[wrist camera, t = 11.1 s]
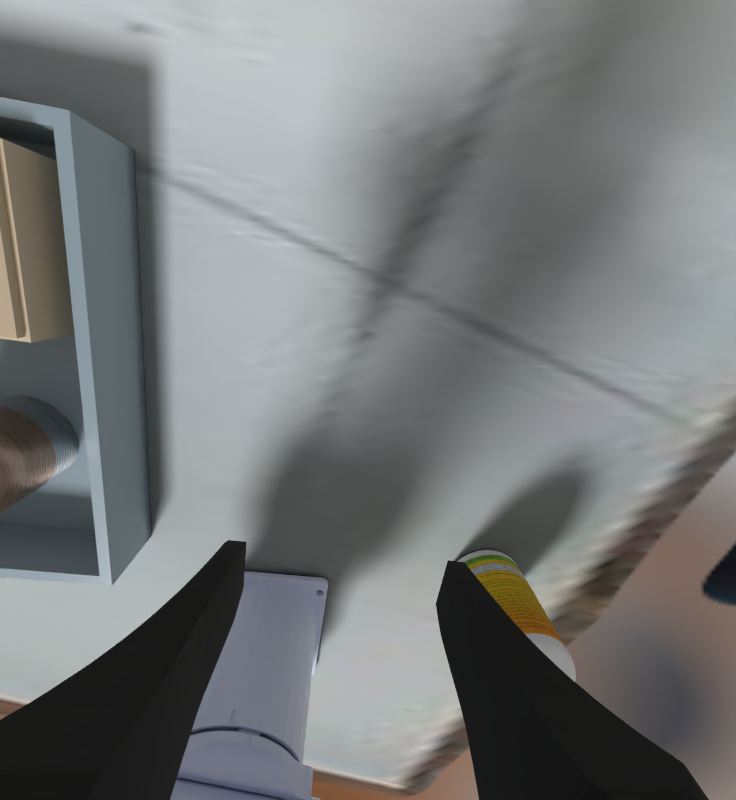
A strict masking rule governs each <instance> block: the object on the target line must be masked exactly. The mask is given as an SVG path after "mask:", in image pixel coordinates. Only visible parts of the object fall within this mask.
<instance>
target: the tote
mask: <svg viewBox="0 0 736 800" xmlns="http://www.w3.org/2000/svg"><path fill="white" fill-rule="evenodd" d="M0 138H2V139H4V140H7V141H9V142H12V143H14V144H17V145H19V146H21V147H24V148H26V149H29V150H31V151H33V152H36V153H38V154H41V155H43V156H46V157H48V158H50V159H53V160H55V161H57V167H58V177H59V186H60V196H61V206H62V216H63V225H64V235H65V245H66V254H67V264H68V274H69V284H70V293H71V303H72V313H73V322H74V332H75V335H70V336H64V337H59V338H53V339H48V340H43V341H37V342H32V343H30V342H23V341H15V340H8V339H0V399H2V398H5V397H9V396H28V397H33V398H37V399H40V400H42V401H44V402H47V403H48V404H50V405H52V406H53V407H55V408H56V409H58V410H59V411H60V412H61V413H62V414H63V415H64V416H65V417H66V418H67V419H68V420H69V422H70V423H71V424H72V426H73V428H74V430H75V432H76V435H77V438H78V453H77V456H76V459H75V461H74V462H73V464H72V465H71V466H70V467H69V468H67V469H66V470H65V471H63V472H62V473H60V474H59V475H57V476H56V477H54V478H53V479H51V480H49V481H48V482H47V483H46V484H45V485H44V486H42V487H41V488H39V489H38V490H36V491H34V492H33V493H31V494H30V495H28V496H27V497H25V498H24V499H22V500H21V501H19V502H18V503H16V504H15V505H13V506H12V507H10V508H9V509H7V510H6V511H4V512H3V513H1V514H0V577H7V578H20V579H32V580H45V581H58V582H71V583H83V584H96V585H109V586H112V585H113V584H114V583H115V581H116V580H117V579H118V578H119V576H120V575H121V574H122V572H123V571H124V570H125V569H126V567H127V566H128V565H129V564H130V562H131V561H132V560H133V559H134V557H135V556H136V555H137V553H138V552H139V551H140V550H141V548H142V547H143V546H144V545H145V543H146V542H147V541H148V540H149V538H150V537H151V522H150V499H149V476H148V453H147V431H146V408H145V385H144V362H143V340H142V317H141V294H140V271H139V249H138V226H137V203H136V180H135V158H134V150H133V149H132V148H130V147H129V146H127V145H125V144H124V143H122V142H120V141H119V140H117V139H116V138H114V137H112V136H111V135H109V134H107V133H106V132H104V131H102V130H101V129H99V128H98V127H96V126H94V125H93V124H91V123H89V122H88V121H86V120H85V119H83V118H81V117H80V116H78V115H76V114H75V113H73V112H71V111H70V110H66V109H61V108H56V107H51V106H45V105H40V104H35V103H30V102H25V101H20V100H14V99H9V98H4V97H0Z"/></svg>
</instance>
